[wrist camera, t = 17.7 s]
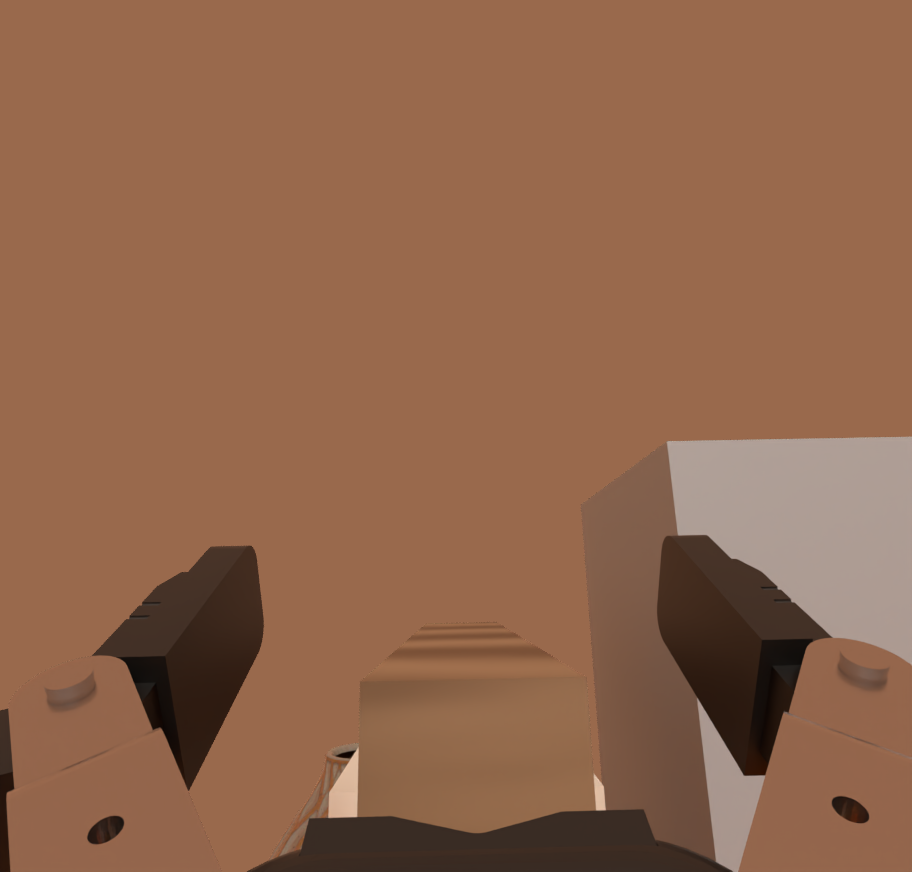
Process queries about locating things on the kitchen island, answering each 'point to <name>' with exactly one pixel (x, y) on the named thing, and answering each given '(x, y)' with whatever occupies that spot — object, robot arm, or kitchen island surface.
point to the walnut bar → (473, 731)
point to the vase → (315, 800)
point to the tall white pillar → (759, 545)
